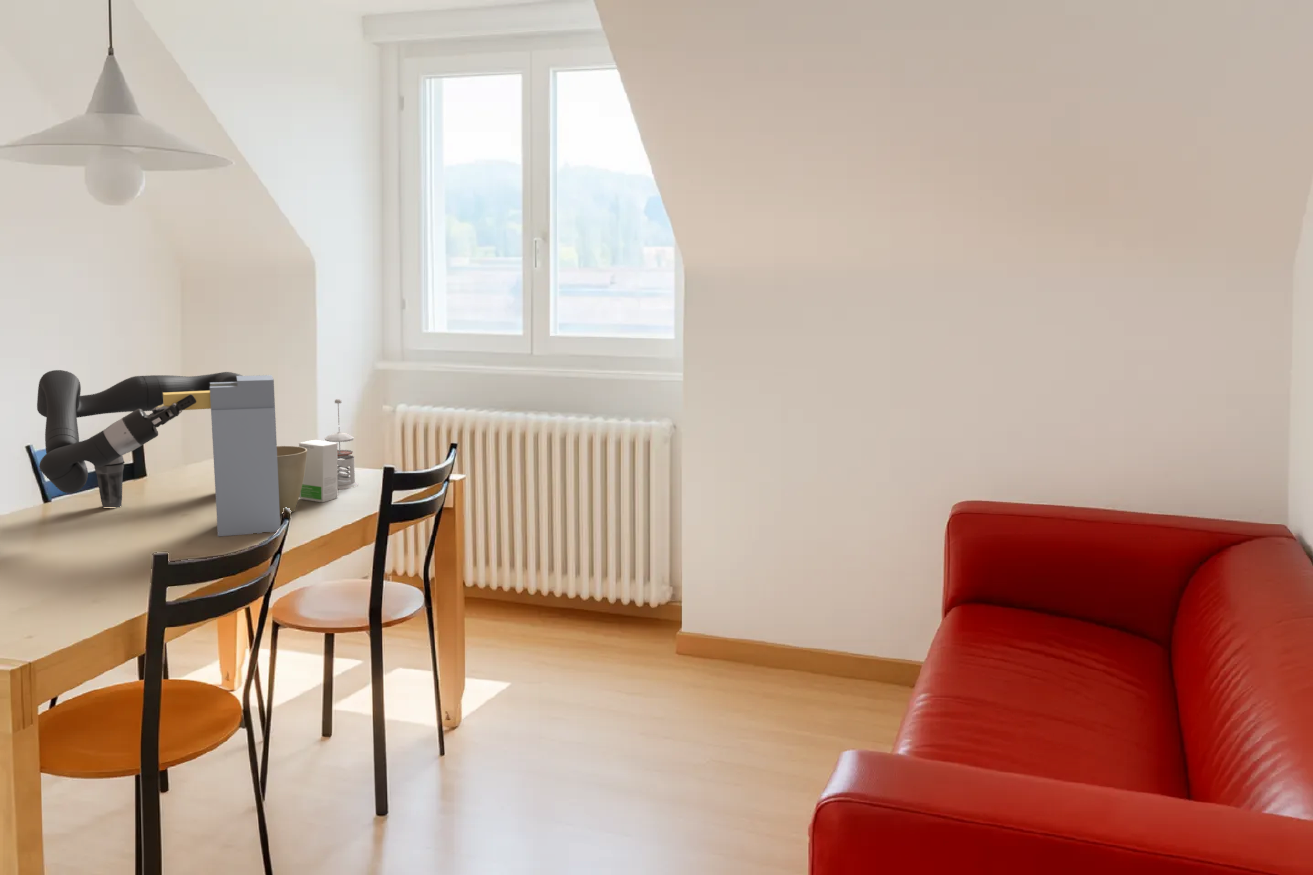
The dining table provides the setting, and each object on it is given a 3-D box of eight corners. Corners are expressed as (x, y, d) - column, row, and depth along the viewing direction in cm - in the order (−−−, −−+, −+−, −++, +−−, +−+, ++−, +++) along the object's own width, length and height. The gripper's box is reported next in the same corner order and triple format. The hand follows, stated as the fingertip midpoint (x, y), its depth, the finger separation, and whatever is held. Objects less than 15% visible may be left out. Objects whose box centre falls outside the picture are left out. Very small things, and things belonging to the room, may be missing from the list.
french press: (353, 489, 311) (350, 401, 307) (312, 488, 311) (308, 400, 307) (362, 482, 321) (360, 396, 317) (323, 481, 321) (320, 396, 317)
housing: (217, 536, 260) (209, 382, 254) (217, 525, 270) (209, 376, 264) (280, 531, 265) (273, 380, 259) (278, 520, 275) (271, 374, 269)
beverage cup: (134, 504, 289) (128, 429, 286) (112, 511, 282) (106, 434, 279) (112, 502, 291) (106, 427, 288) (89, 508, 285) (84, 432, 281)
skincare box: (298, 499, 298) (296, 442, 295) (315, 494, 304) (312, 439, 301) (324, 502, 295) (322, 445, 292) (340, 497, 301) (338, 441, 298)
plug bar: (164, 411, 253) (163, 394, 252) (163, 408, 256) (162, 392, 256) (274, 405, 264) (273, 389, 263) (271, 403, 267) (271, 387, 266)
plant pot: (292, 502, 295) (290, 443, 292) (319, 512, 284) (317, 451, 282) (238, 510, 285) (235, 450, 282) (264, 521, 274) (261, 458, 271)
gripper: (118, 423, 246) (184, 385, 250) (123, 414, 260) (186, 378, 263) (138, 451, 249) (203, 413, 253) (142, 440, 262) (204, 404, 266)
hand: (194, 395), depth 258 cm, fingers open, 8 cm apart
